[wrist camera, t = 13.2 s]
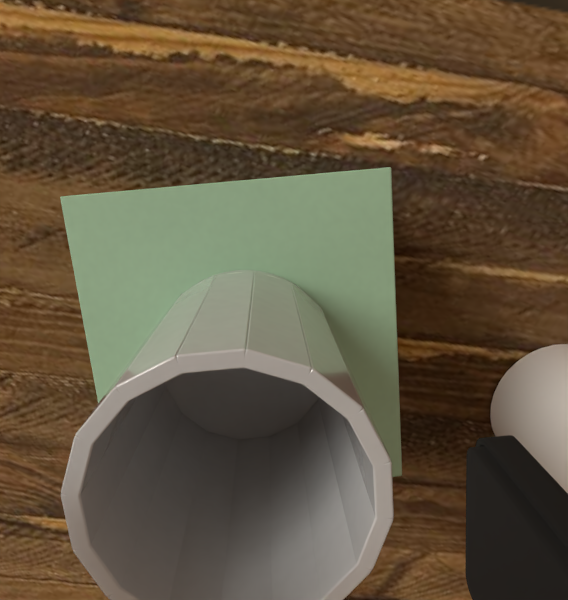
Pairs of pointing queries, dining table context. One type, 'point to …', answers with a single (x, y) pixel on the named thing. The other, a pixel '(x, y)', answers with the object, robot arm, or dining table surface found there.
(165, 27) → the dining table surface
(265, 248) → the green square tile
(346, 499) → the cup
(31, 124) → the dining table surface
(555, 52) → the dining table surface
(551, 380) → the pill bottle
